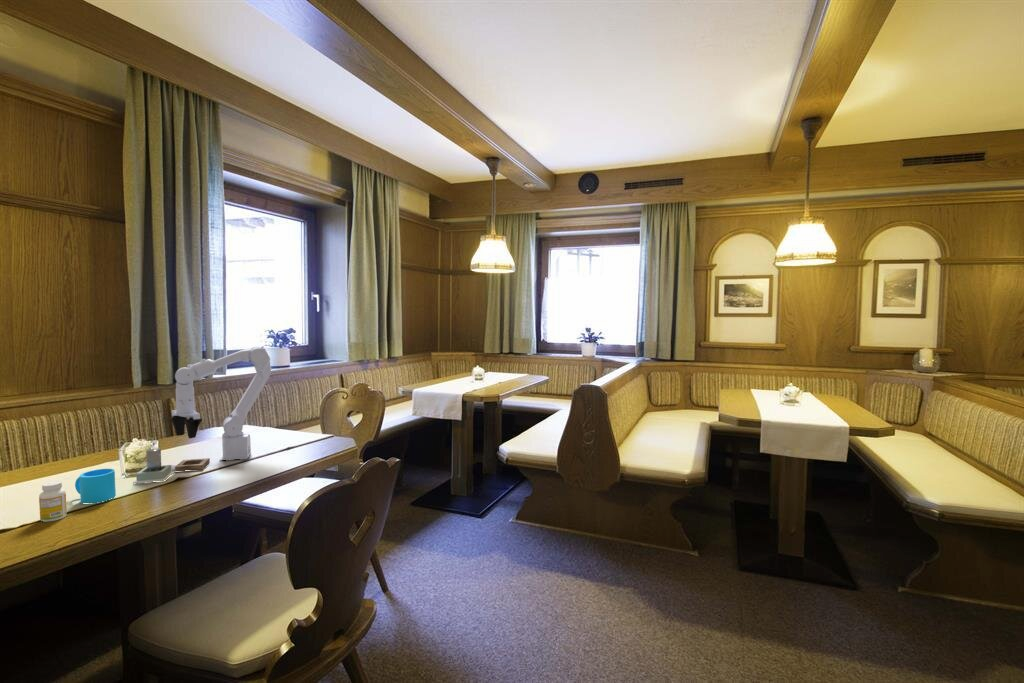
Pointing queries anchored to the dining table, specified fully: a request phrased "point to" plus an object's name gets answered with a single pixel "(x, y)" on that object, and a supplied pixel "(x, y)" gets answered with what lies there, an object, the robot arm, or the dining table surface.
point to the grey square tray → (153, 475)
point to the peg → (153, 460)
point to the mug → (96, 485)
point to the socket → (192, 464)
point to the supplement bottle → (52, 502)
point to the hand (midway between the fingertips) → (186, 436)
